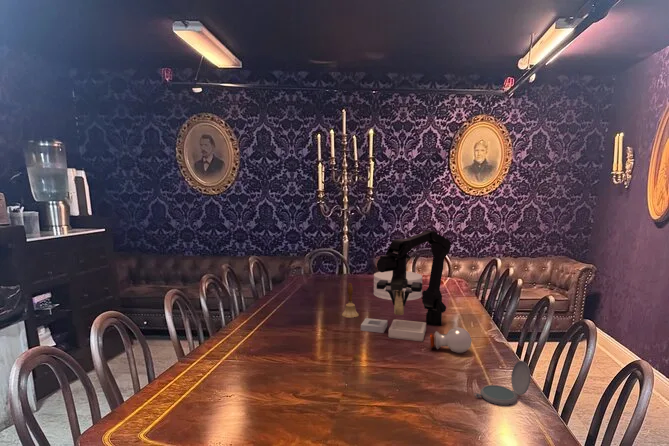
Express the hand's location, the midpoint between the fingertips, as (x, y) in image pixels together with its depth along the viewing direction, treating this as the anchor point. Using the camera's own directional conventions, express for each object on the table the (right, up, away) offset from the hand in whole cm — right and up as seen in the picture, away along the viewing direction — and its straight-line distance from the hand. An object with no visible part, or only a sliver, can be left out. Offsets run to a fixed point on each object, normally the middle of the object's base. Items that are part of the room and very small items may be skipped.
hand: (399, 305), depth 178 cm
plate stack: (+9, -7, +66) cm, 67 cm away
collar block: (-10, -11, +6) cm, 16 cm away
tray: (+3, -12, -1) cm, 12 cm away
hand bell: (-20, -10, +25) cm, 33 cm away
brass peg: (0, -4, 0) cm, 4 cm away
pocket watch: (+21, -17, -55) cm, 61 cm away
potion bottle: (+16, -14, -20) cm, 29 cm away
